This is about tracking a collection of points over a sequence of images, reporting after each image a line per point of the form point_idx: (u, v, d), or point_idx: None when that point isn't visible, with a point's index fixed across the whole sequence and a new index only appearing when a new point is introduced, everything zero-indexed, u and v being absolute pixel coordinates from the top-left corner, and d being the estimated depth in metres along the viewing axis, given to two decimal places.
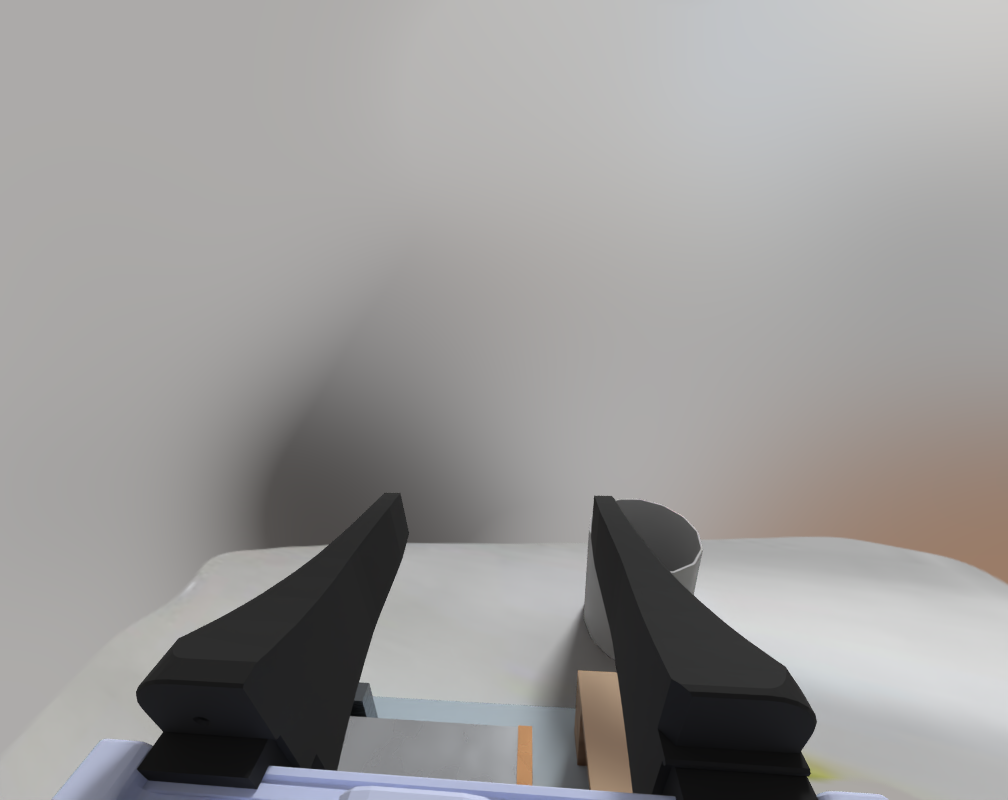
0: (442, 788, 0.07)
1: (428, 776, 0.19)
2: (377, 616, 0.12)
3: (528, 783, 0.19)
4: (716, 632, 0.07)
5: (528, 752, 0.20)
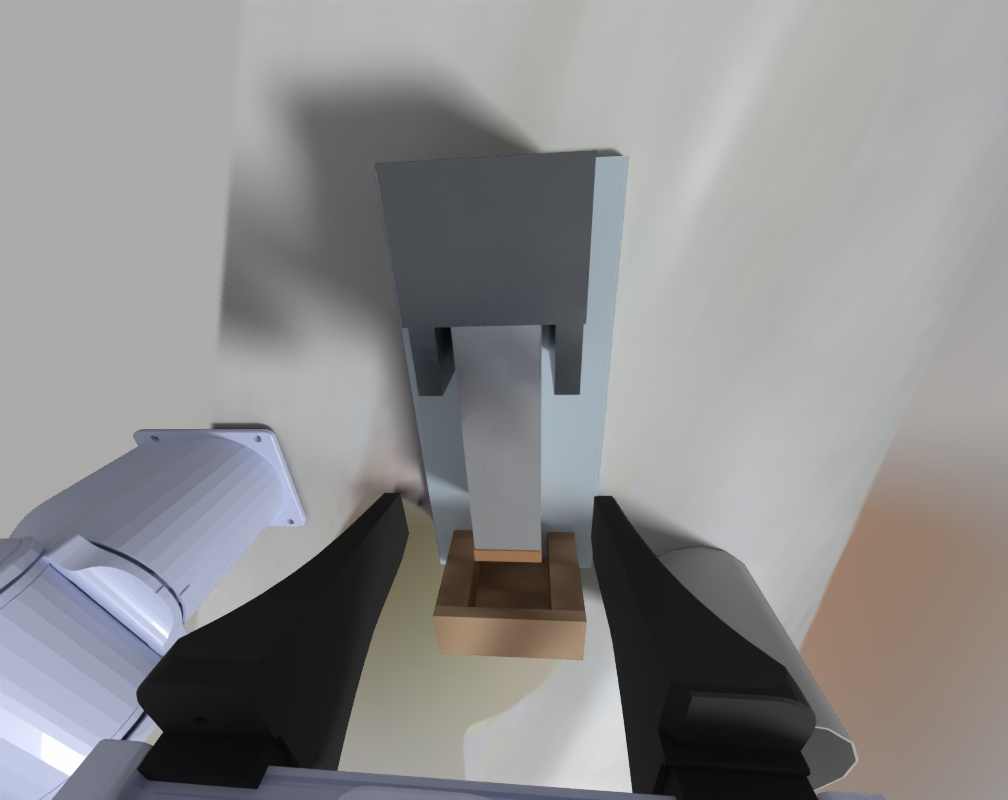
0: (442, 788, 0.07)
1: (489, 480, 0.18)
2: (377, 616, 0.12)
3: (495, 559, 0.20)
4: (716, 632, 0.07)
5: (518, 559, 0.20)
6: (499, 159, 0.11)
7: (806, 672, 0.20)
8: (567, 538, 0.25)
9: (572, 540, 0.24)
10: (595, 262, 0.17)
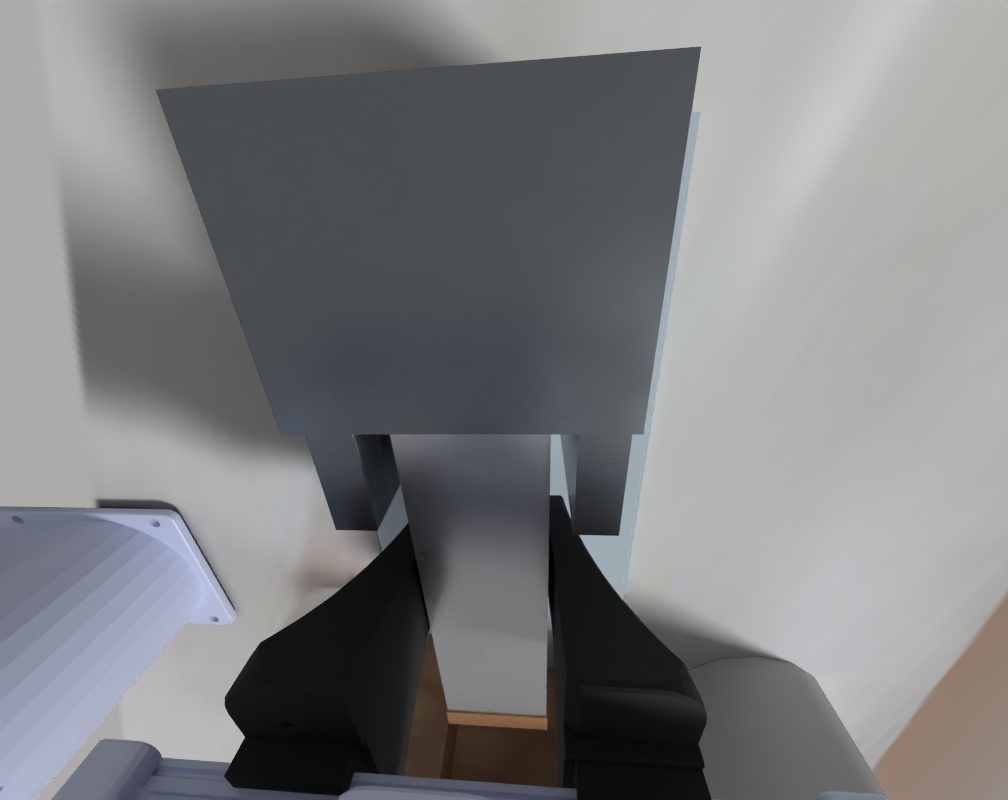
0: (442, 788, 0.07)
1: (465, 633, 0.11)
2: None
3: (478, 723, 0.13)
4: (627, 628, 0.08)
5: (513, 724, 0.13)
6: (453, 74, 0.04)
7: None
8: None
9: None
10: None
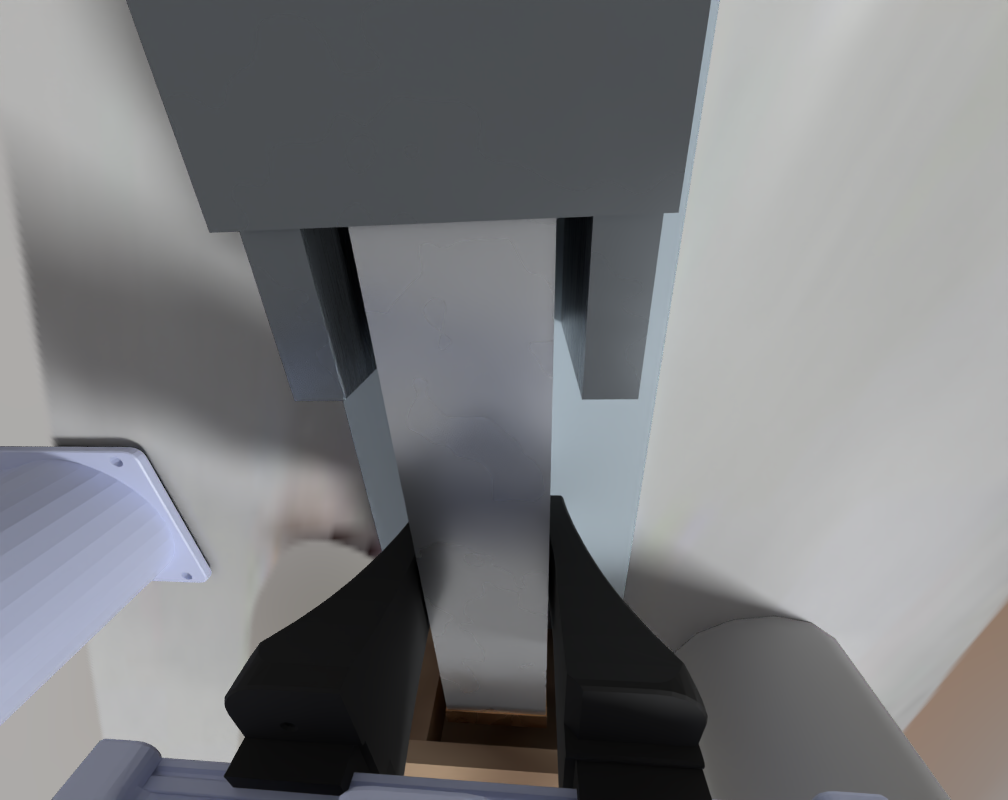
0: (442, 788, 0.07)
1: (465, 630, 0.11)
2: None
3: (477, 721, 0.13)
4: (627, 628, 0.08)
5: (512, 722, 0.13)
6: None
7: None
8: None
9: None
10: None
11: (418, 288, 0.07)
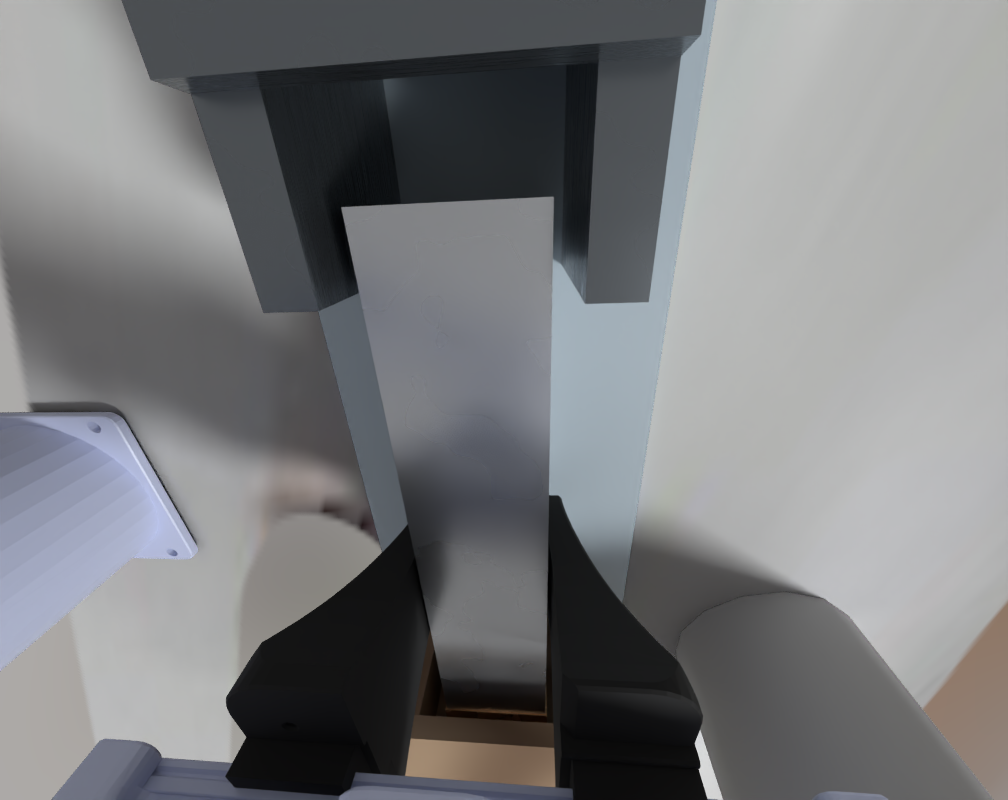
0: (442, 788, 0.07)
1: (464, 629, 0.11)
2: None
3: None
4: (623, 628, 0.08)
5: None
6: None
7: None
8: None
9: None
10: None
11: (415, 285, 0.07)
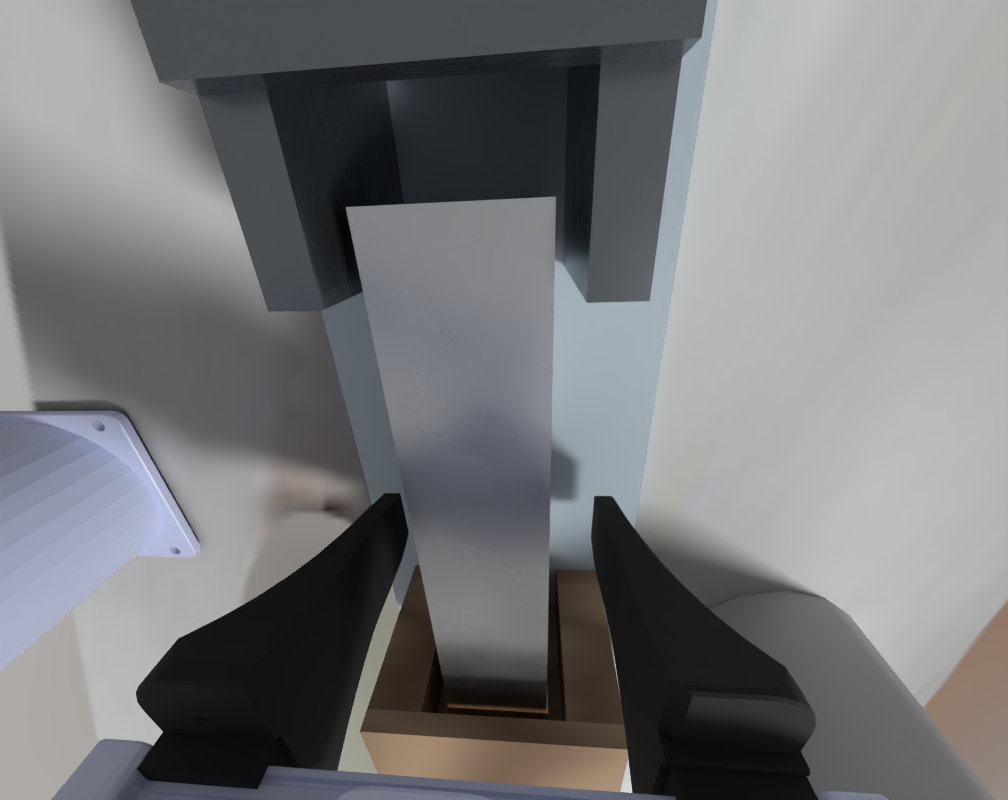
0: (442, 788, 0.07)
1: (466, 627, 0.11)
2: (377, 616, 0.12)
3: None
4: (716, 632, 0.07)
5: None
6: None
7: None
8: (587, 580, 0.16)
9: (595, 584, 0.16)
10: None
11: (418, 284, 0.07)
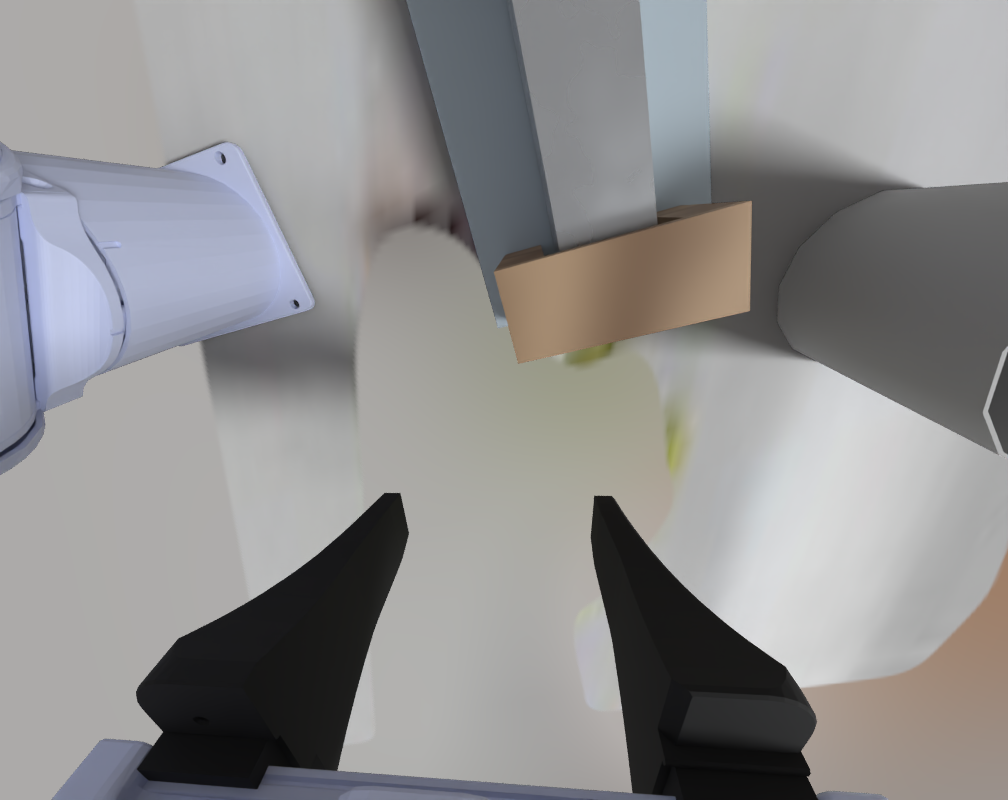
0: (442, 788, 0.07)
1: (571, 135, 0.12)
2: (377, 616, 0.12)
3: None
4: (716, 632, 0.07)
5: None
6: None
7: None
8: (672, 208, 0.16)
9: (680, 206, 0.16)
10: None
11: None
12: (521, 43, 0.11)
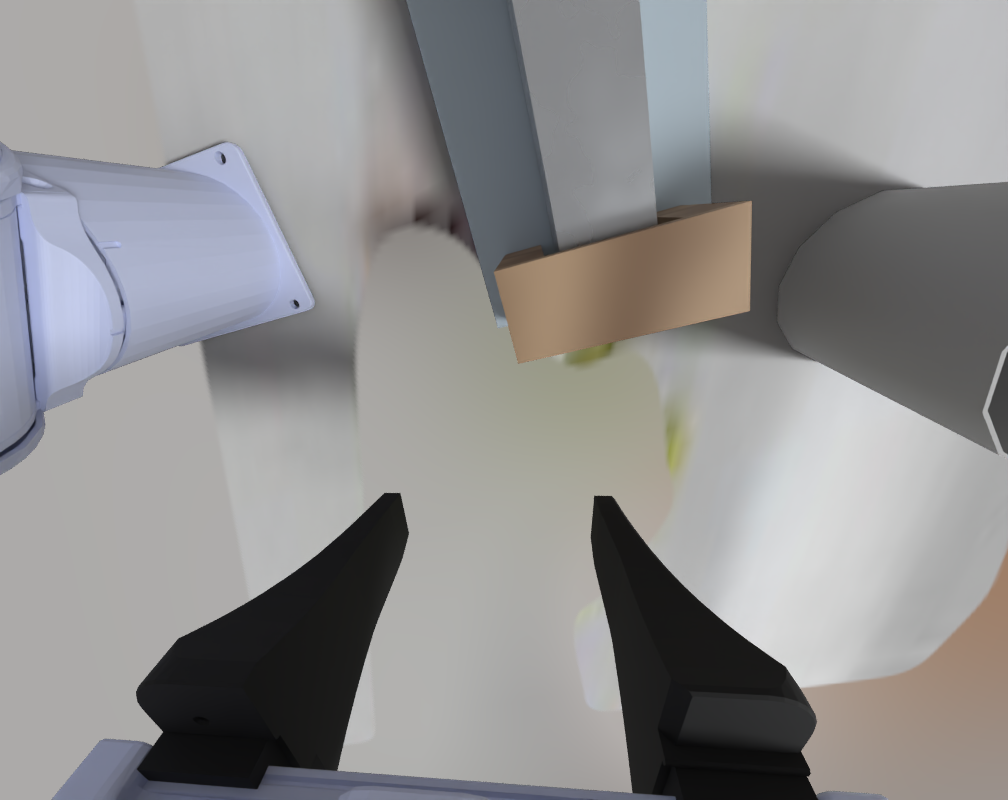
0: (442, 788, 0.07)
1: (571, 135, 0.12)
2: (377, 616, 0.12)
3: None
4: (716, 632, 0.07)
5: None
6: None
7: None
8: (672, 208, 0.16)
9: (680, 206, 0.16)
10: None
11: None
12: (521, 43, 0.11)
